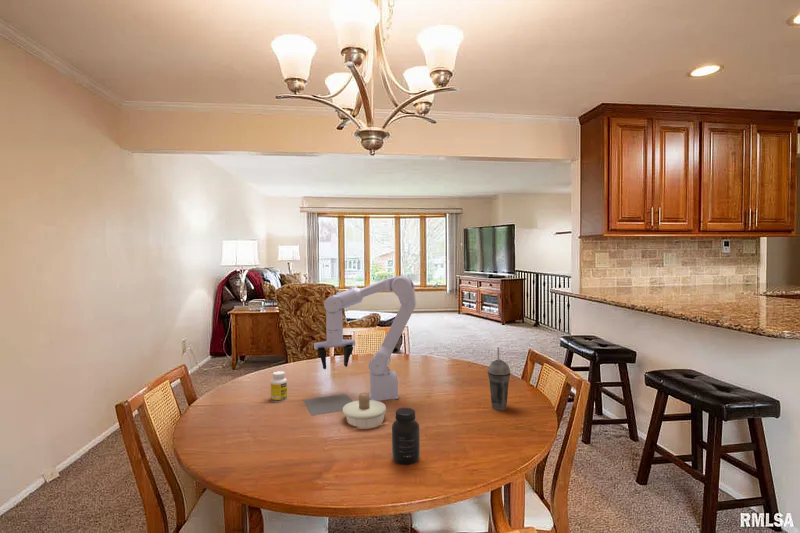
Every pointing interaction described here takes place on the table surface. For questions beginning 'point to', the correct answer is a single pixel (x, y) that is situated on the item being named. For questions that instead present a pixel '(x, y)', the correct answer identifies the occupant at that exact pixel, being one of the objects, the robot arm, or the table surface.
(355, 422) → the bowl
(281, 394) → the supplement bottle
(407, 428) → the supplement bottle
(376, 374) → the robot arm
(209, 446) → the table surface
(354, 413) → the lid
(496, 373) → the beverage cup
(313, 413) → the mat
